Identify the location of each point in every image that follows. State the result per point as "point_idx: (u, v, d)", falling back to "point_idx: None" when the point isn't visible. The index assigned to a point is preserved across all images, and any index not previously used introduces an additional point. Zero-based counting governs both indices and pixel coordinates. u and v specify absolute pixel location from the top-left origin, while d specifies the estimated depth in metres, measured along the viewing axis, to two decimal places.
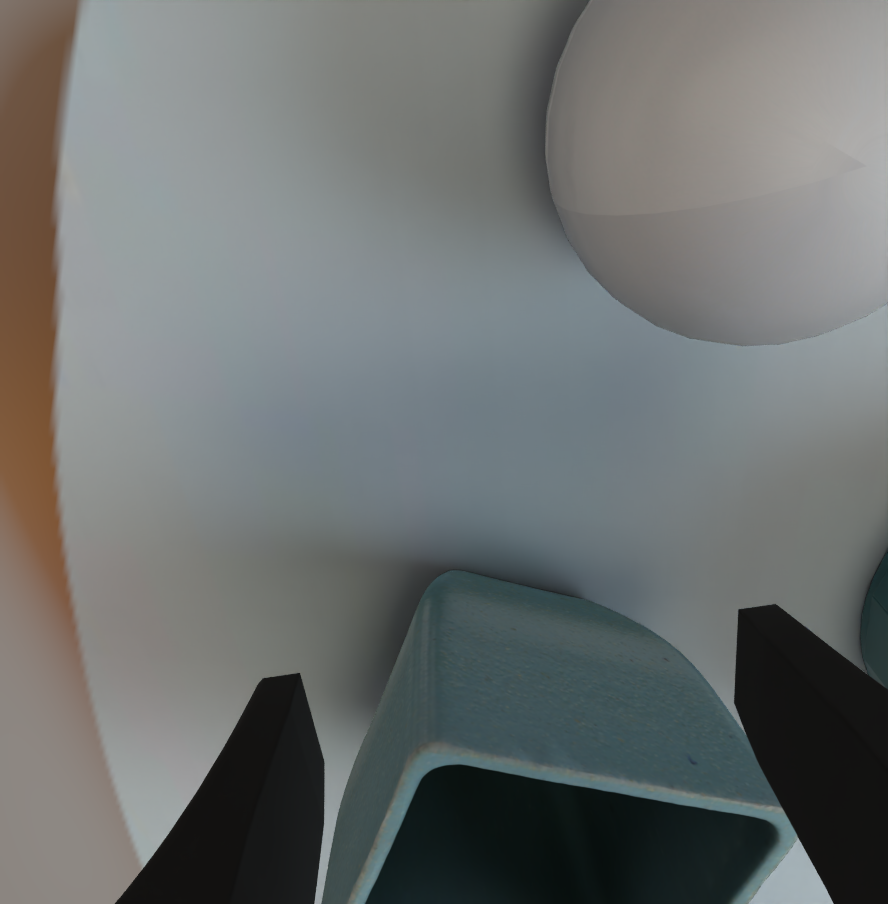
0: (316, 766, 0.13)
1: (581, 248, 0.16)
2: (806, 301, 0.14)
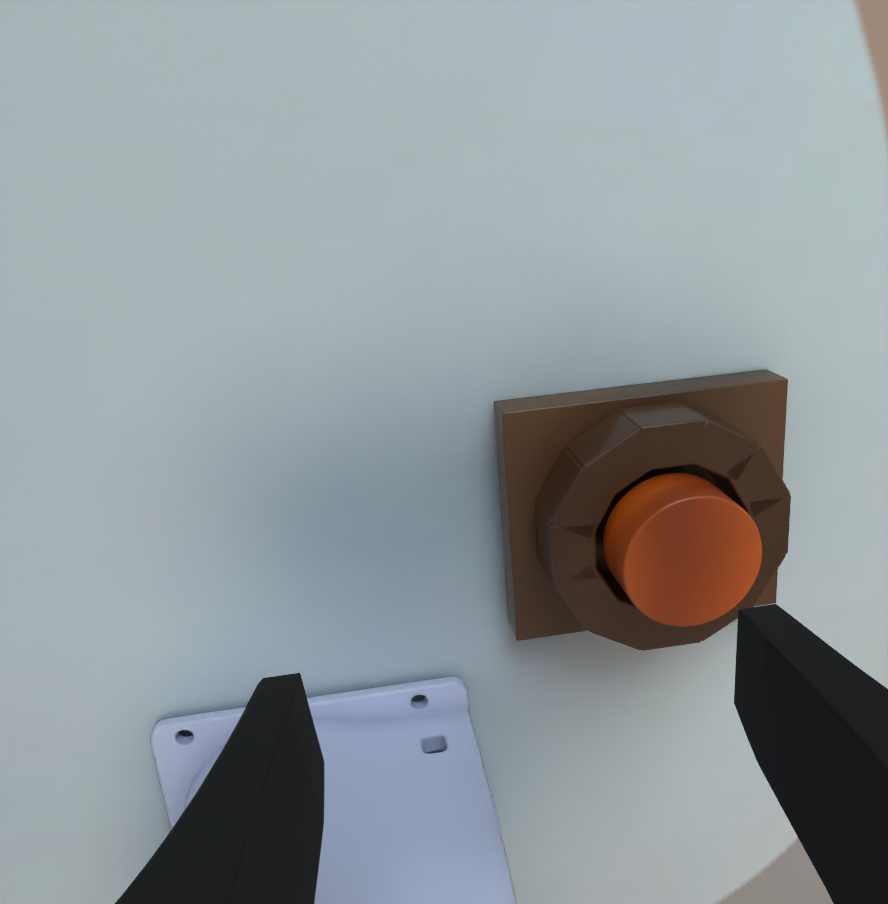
0: (316, 766, 0.13)
1: None
2: None
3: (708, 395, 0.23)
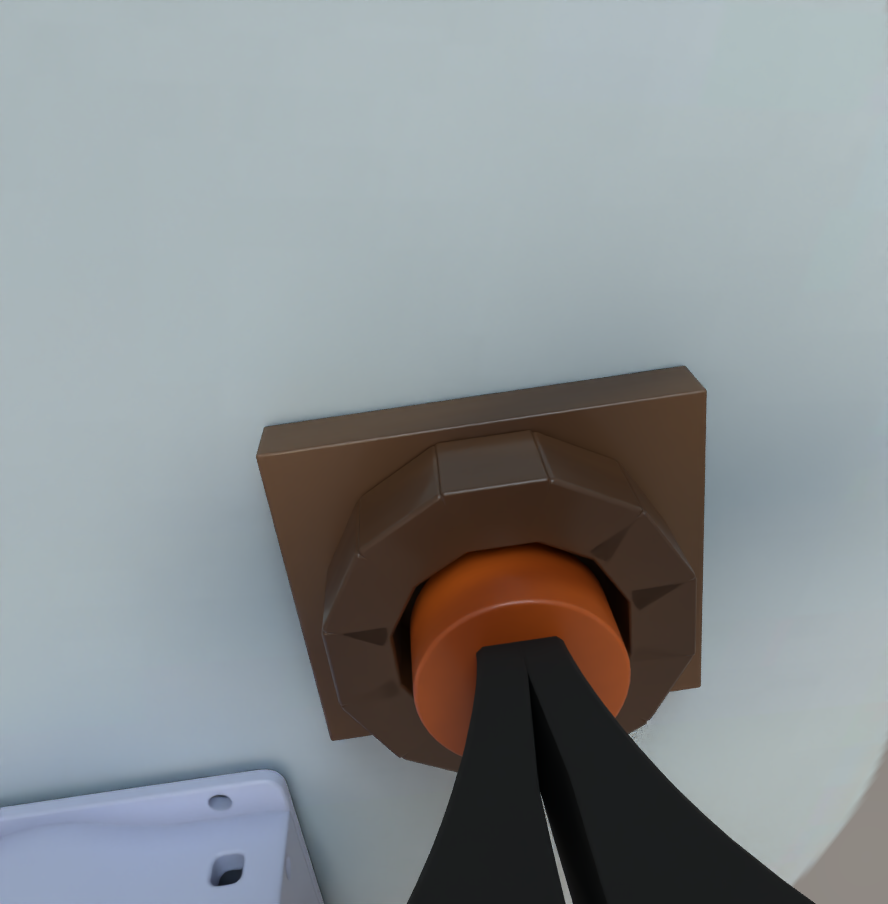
0: None
1: None
2: None
3: (578, 419, 0.15)
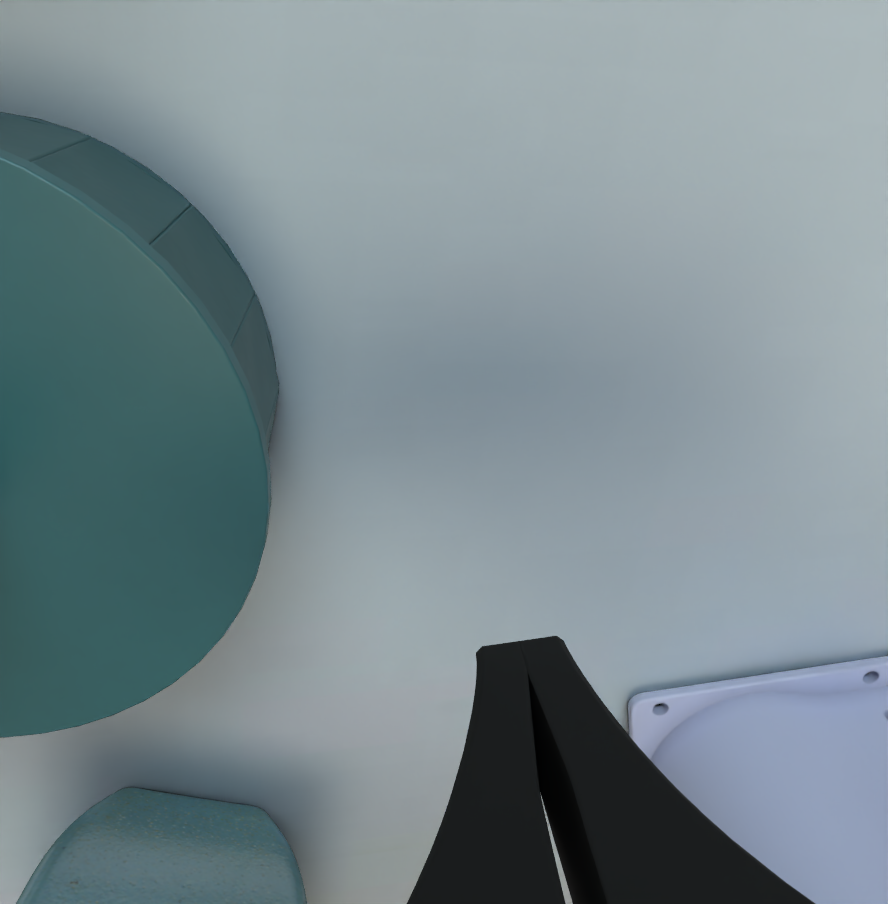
0: None
1: None
2: None
3: None
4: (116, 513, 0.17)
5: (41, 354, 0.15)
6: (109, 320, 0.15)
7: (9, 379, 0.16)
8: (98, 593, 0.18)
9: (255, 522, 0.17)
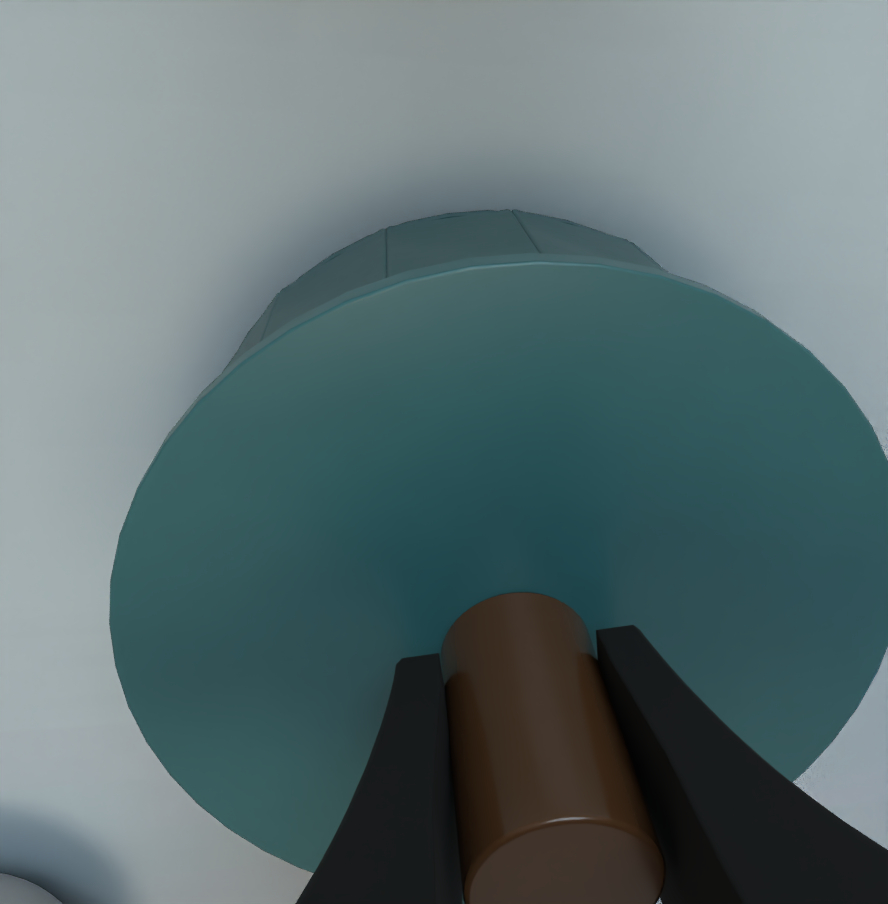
0: None
1: None
2: None
3: None
4: (716, 677, 0.15)
5: (705, 517, 0.13)
6: (792, 481, 0.13)
7: (659, 542, 0.14)
8: None
9: (857, 685, 0.15)
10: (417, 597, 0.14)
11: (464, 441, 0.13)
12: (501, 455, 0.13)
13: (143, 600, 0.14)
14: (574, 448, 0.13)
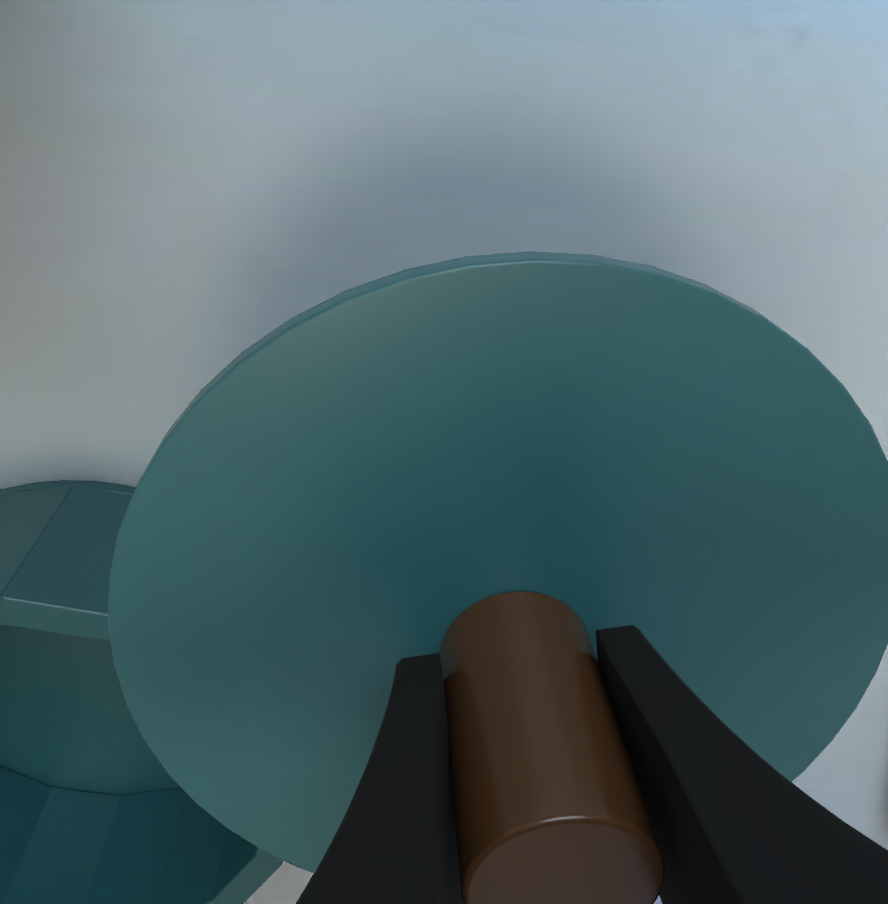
0: None
1: None
2: None
3: None
4: (714, 676, 0.15)
5: (703, 515, 0.13)
6: (791, 480, 0.13)
7: (658, 542, 0.14)
8: None
9: (857, 685, 0.15)
10: (416, 596, 0.14)
11: (463, 440, 0.13)
12: (500, 454, 0.13)
13: (142, 599, 0.13)
14: (573, 447, 0.13)
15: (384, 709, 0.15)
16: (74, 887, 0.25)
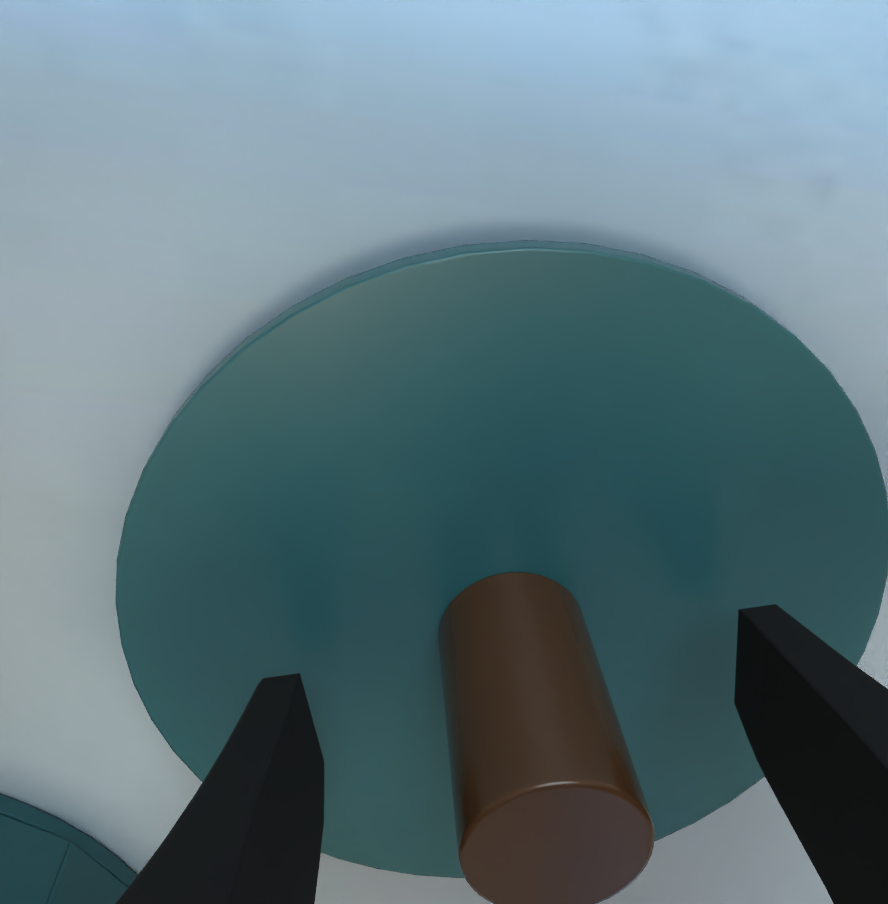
0: (316, 765, 0.13)
1: None
2: None
3: None
4: (706, 657, 0.15)
5: (694, 498, 0.14)
6: (779, 463, 0.14)
7: (650, 523, 0.14)
8: (655, 736, 0.16)
9: None
10: (415, 577, 0.14)
11: (460, 423, 0.13)
12: (496, 437, 0.13)
13: (149, 579, 0.14)
14: (567, 431, 0.13)
15: (384, 688, 0.15)
16: None
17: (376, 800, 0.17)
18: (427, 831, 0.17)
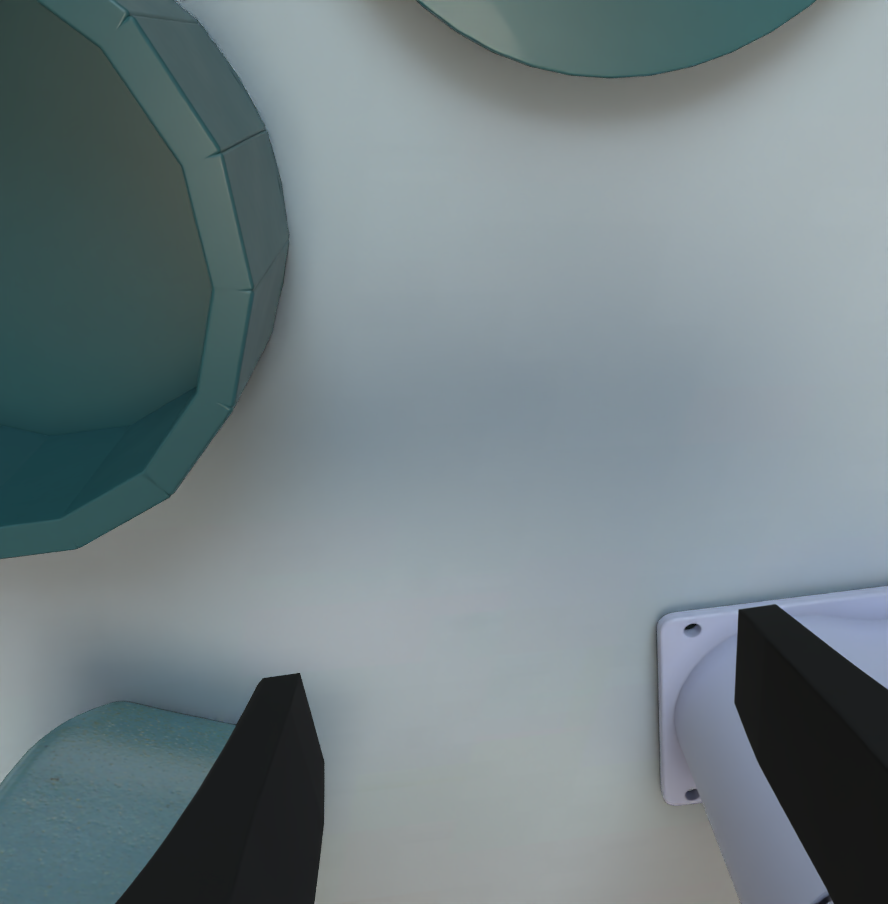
0: (317, 765, 0.13)
1: None
2: None
3: None
4: None
5: None
6: None
7: None
8: None
9: None
10: None
11: None
12: None
13: None
14: None
15: None
16: None
17: None
18: None
